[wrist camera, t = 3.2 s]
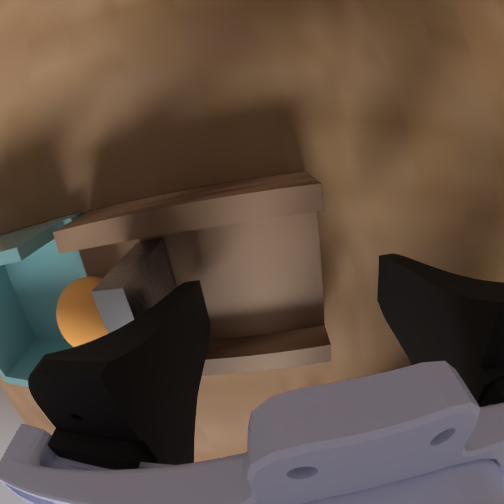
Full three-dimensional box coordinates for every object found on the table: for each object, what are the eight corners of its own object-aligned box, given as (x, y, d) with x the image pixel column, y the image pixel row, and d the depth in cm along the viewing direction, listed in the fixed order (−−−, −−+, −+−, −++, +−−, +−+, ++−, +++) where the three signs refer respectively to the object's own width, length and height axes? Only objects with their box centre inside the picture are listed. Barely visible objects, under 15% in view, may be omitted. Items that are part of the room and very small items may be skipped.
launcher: (305, 171, 14) (321, 183, 10) (318, 319, 16) (330, 360, 13) (89, 210, 14) (52, 232, 11) (133, 338, 17) (113, 376, 14)
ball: (30, 303, 10) (66, 269, 13) (64, 369, 11) (90, 328, 14) (95, 296, 10) (125, 258, 13) (128, 369, 11) (147, 322, 14)
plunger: (162, 238, 12) (122, 288, 8) (190, 335, 14) (171, 403, 10) (137, 242, 13) (90, 291, 8) (167, 337, 14) (143, 403, 10)
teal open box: (82, 211, 14) (25, 245, 10) (127, 338, 17) (97, 396, 13) (-4, 237, 15) (-54, 267, 10) (39, 339, 18) (5, 382, 13)
